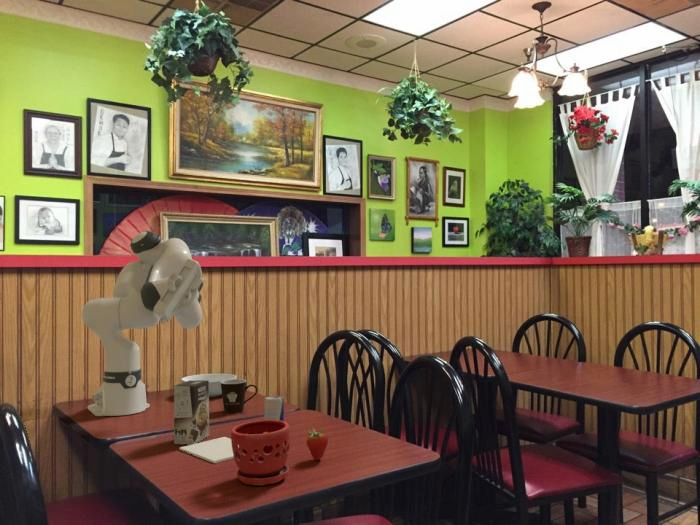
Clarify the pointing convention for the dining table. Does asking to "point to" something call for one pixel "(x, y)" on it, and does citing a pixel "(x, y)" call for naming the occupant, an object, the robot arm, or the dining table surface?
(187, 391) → the coffee box
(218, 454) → the mat
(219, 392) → the serving bowl
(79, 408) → the dining table surface
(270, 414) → the energy drink
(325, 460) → the dining table surface
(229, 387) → the coffee mug
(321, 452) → the fruit
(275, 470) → the plant pot
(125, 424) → the dining table surface
